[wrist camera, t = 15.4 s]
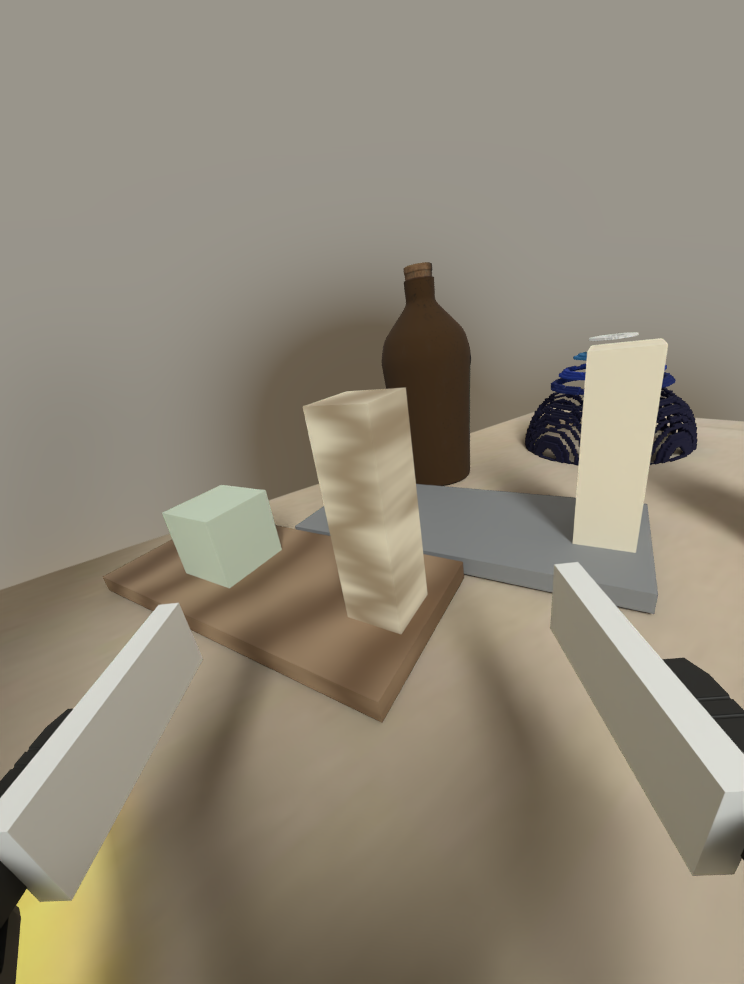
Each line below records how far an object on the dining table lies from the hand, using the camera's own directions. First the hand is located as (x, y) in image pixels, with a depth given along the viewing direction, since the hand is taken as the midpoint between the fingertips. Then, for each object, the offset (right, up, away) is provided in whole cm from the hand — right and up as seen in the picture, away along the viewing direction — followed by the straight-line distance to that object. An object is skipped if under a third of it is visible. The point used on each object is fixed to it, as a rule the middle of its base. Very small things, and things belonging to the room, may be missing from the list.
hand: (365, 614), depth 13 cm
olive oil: (+9, +7, +38) cm, 39 cm away
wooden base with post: (-9, -4, +19) cm, 21 cm away
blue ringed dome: (+33, +11, +40) cm, 53 cm away
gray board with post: (+9, 0, +23) cm, 24 cm away
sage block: (-12, -2, +20) cm, 24 cm away
